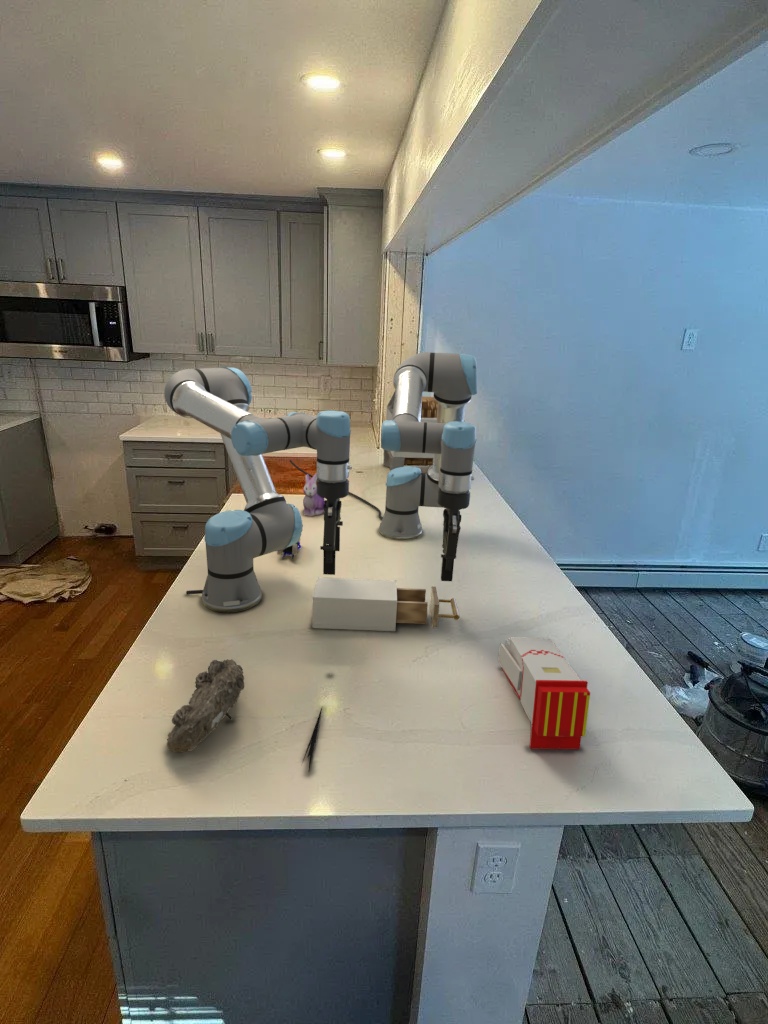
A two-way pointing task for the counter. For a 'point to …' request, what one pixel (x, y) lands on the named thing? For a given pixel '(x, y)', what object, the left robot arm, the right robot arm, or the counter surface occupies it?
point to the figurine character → (290, 550)
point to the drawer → (421, 606)
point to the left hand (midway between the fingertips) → (331, 561)
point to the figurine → (312, 497)
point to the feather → (313, 740)
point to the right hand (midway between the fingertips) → (446, 579)
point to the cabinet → (354, 604)
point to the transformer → (412, 458)
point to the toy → (546, 691)
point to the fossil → (206, 705)
